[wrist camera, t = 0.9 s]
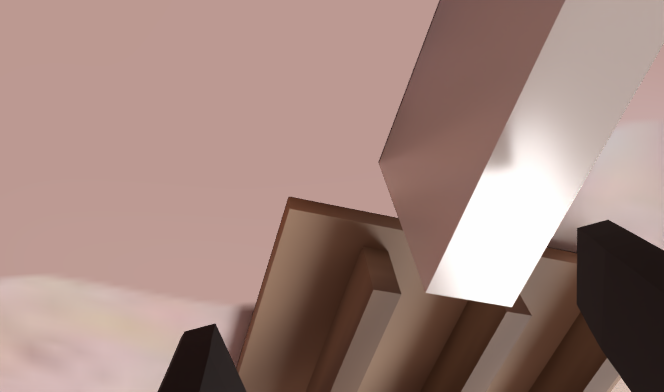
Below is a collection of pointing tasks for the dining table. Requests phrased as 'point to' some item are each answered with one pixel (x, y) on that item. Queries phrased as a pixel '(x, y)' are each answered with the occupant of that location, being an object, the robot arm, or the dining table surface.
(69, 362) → the dining table surface
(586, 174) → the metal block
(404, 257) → the rack
